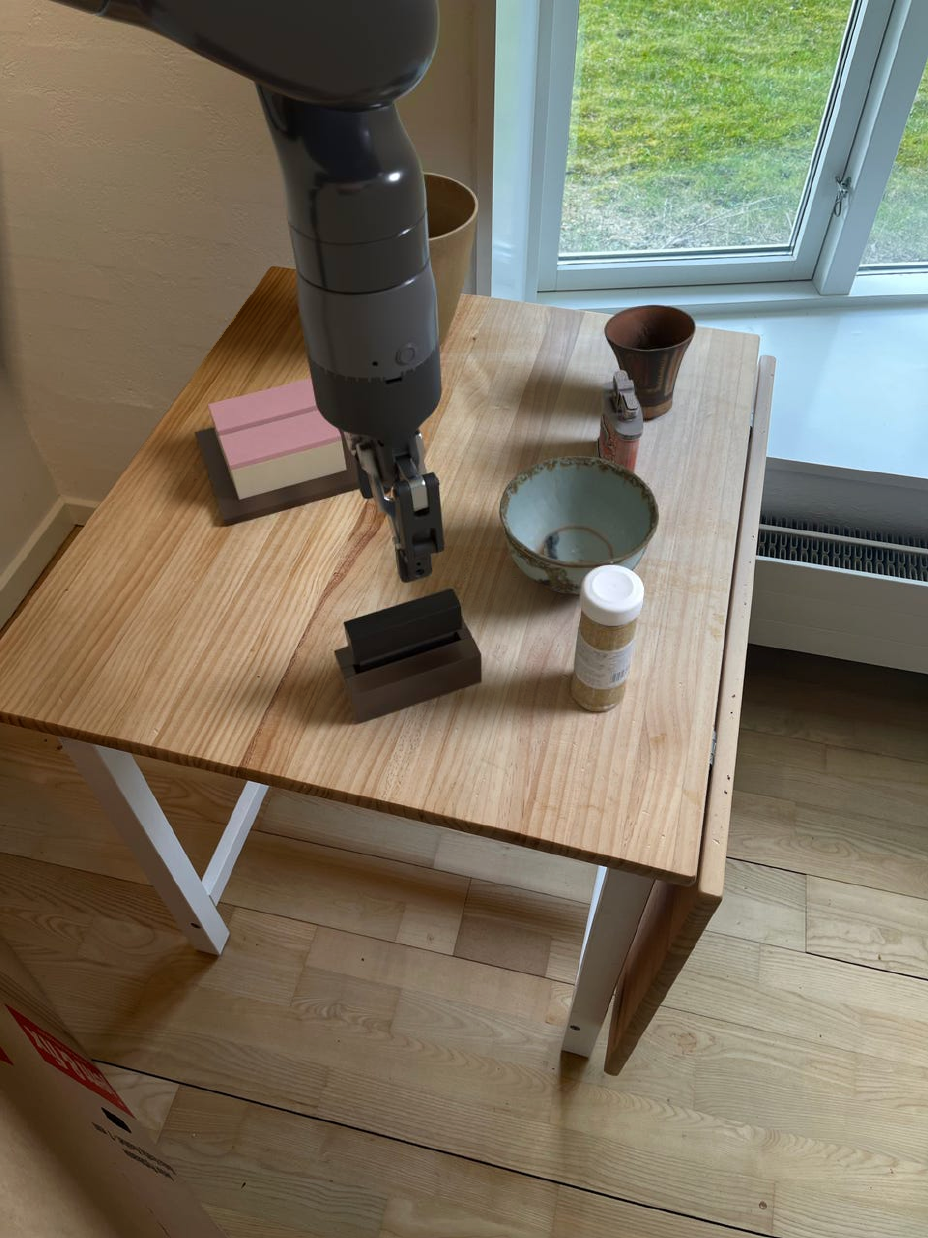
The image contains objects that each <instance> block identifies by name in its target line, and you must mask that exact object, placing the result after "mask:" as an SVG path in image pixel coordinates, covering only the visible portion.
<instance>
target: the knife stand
mask: <svg viewBox="0 0 928 1238" xmlns="http://www.w3.org/2000/svg"><path fill="white" fill-rule="evenodd" d="M453 633H454V643H451V644H448V645H445V646H442V647H439V648H436V649H433V650H430V651H427V652H424V653H421V654H418V655H415V656H411V657H408V658H405V659H402V660H399V661H396V662H393V663H390V664H387V665H384V666H381V667H378V668H375V669H372V670H369V671H366V672H363V673H361V670H360V664H359V663H355V662H354V659H353V657H352V654H351V652H350V649H349V647H348V645H347V646H343V647H340V648H337V649H335V650H333V654H334V658H335V663H336V667H337V672H338V677H339V680H340V683H341V686H342V688H343V691H344V694H345V696H346V699H347V702H348V704H349V706H350V709H351V712H352V714H353V717H354V720H355V722H356V724H357V725H360V724H364V723H366V722H368V721H372V720H374V719H377V718H381V717H383V716H386V715H390V714H393V713H395V712H398V711H401V710H404V709H407V708H410V707H413V706H416V705H419V704H422V703H425V702H428V701H431V700H433V699H437V698H439V697H442V696H446V695H449V694H451V693H453V692H457V691H459V690H460V691H461V690H464V689H466V688H469V687H471V686H475V685H478V684H481V683H482V682H483V676H482V675H483V673H482V672H483V671H482V670H483V669H482V668H483V667H482V652H481V650H480V649H479V647H478V644H477V643H476V640H475V638H474V637H473V635H472V632H471V630H470V629H469V627H468V625H467V623H466V621H465V619H464V617H463V616H462V629H460V630H457V631H454V632H453Z"/></svg>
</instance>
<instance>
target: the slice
mask: <svg viewBox="0 0 928 1238" xmlns="http://www.w3.org/2000/svg"><path fill="white" fill-rule="evenodd" d="M207 408H208V411H209V414H210V417H211V421H212V425H213V427H214V428H215V432H216V435H217V438H218V441H219V444H220V447H221V450H222V453H223V456H224V452H223V449H222V445H221V442H220V439H219V437H221V436H225V435H228V434H232V433H236V432H240V431H243V430H247V429H251V428H255V427H259V426H262V425H266V424H270V423H274V422H278V421H281V420H285V419H289V418H293V417H296V416H300V415H304V414H308V413H312V412H315V411H319V410H318V408H317V405H316V401H315V396H314V391H313V385H312V380H311V377H309V378H305V379H301V380H297V381H293V382H290V383H289V382H288V383H286V384H282V385H277V386H273V387H270V388H265V389H263V390H258V391H255V392H251V393H246V394H242V395H239V396H235V397H234V396H233V397H231V398H227V399H222V400H220V401H216V402H212V403H207ZM224 458H225V456H224ZM225 461H226V459H225ZM226 464H227V463H226Z"/></svg>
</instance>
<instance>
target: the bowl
mask: <svg viewBox="0 0 928 1238" xmlns="http://www.w3.org/2000/svg"><path fill="white" fill-rule="evenodd" d="M498 514H499V520H500V523H501V525H502V528H503V532H504V538H505V541H506V544H507V547H508V550H509V552H510V555H511V557H512V558H513V560H514V561H515V563H516V564H517V566H518V567H519V568H520V569H521V571H522V572H523V573H524V574H525V575H526V576H527V577H528V578H530V579H531V580H532V581H533V582H535V583H536V584H539V585H540V586H542V587H545V588H546V589H549V590H552V591H554V592H557V593H562V594H567V595H580V591H581V585H582V581H583V579H584V577H585V576H586V575H587V574H588V573H589V572H590V571H591V570H593V569H595V568H597V567H600V566H604V565H617V566H622V567H625V568H628V569H629V570H631V571H633V570H634V569H635V568H636V567H637V566H638V564H639V563H640V561H641V560H642V558H643V556H644V555H645V553H646V552H647V549H648V546H649V544H650V542H651V540H652V538H653V537H654V535H655V533H656V532H657V528H658V526H659V520H660V512H659V506H658V503H657V500H656V498H655V495H654V493H653V491H652V490H651V488H650V487H649V486H648V484H647V483H646V482H645V481H644V480H643V479H642V478H641V477H640V476H639V475H637V474H636V473H635V474H634V473H633V472H631V471H630V470H629V469H627V468H625V467H623V466H621V465H618V464H616V463H614V462H611V461H608V460H604V459H601V458H597V457H594V456H584V455H565V456H558V457H553V458H552V457H551V458H549V459H545V460H542V461H539V462H536V463H534V464H532V465H530V466H528V467H525V468H524V469H523V470H521V471H520V472H518V473H517V474H516V475H515V476H514V477H513V478H512V479H511V480H510V481H509V483H508V484H507V485H506V487H505V489H504V491H503V492H502V495H501V498H500V501H499V509H498Z"/></svg>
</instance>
